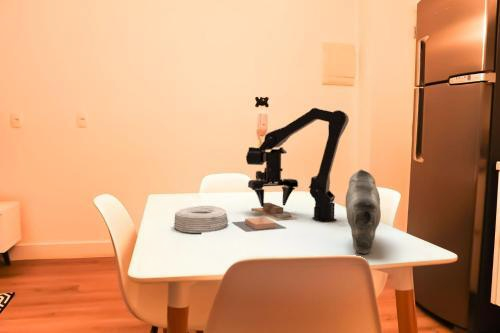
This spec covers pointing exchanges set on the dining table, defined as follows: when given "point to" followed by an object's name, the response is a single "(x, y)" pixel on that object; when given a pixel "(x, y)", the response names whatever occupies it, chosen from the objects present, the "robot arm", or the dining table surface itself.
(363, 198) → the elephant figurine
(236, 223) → the mat
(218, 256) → the dining table surface
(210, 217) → the cable
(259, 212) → the board
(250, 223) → the tile
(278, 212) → the brown wooden plank
